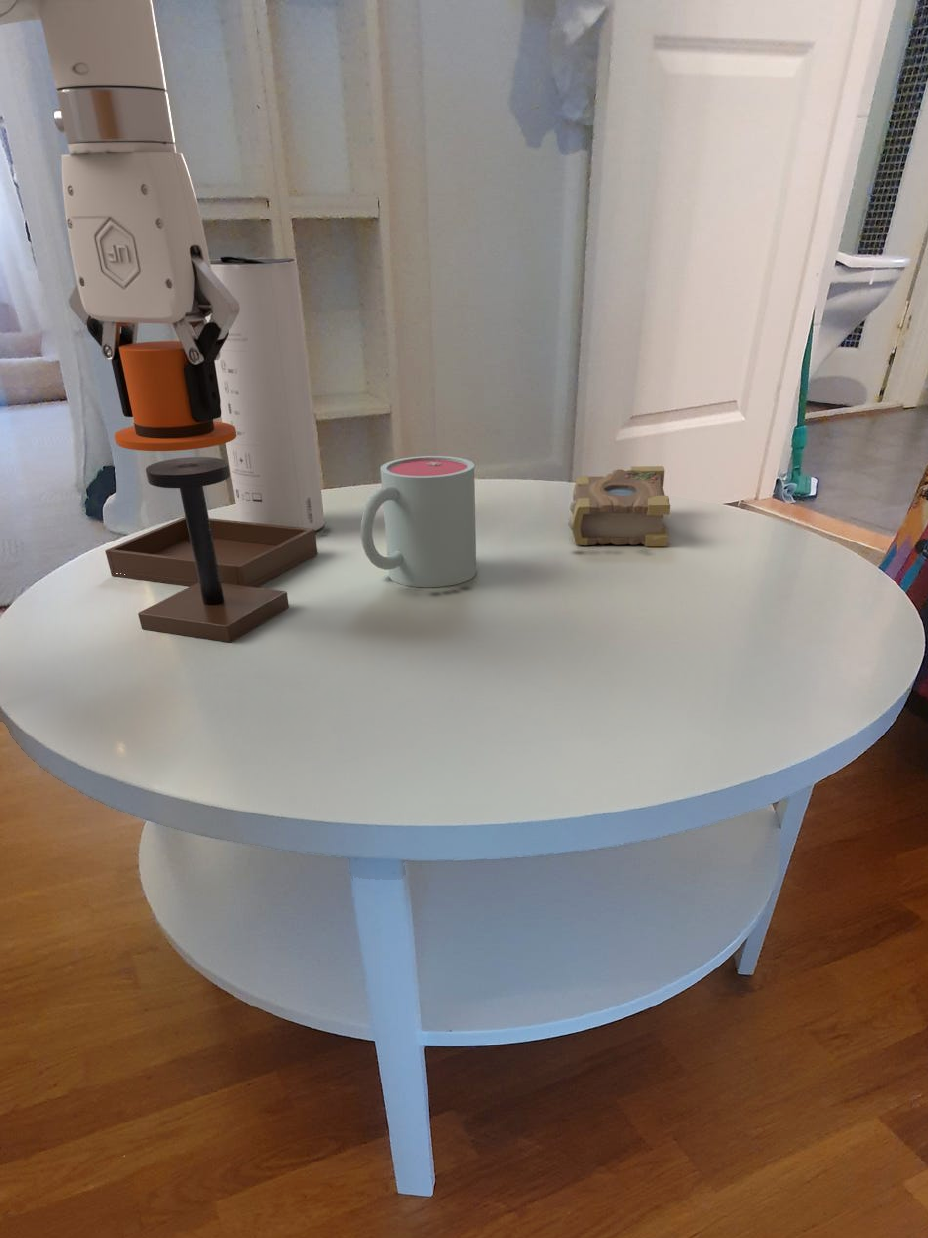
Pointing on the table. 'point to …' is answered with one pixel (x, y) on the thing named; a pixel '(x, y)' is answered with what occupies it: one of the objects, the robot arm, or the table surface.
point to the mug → (425, 521)
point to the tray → (239, 551)
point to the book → (620, 508)
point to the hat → (163, 402)
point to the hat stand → (206, 566)
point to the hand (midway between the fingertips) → (172, 414)
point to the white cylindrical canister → (268, 395)
